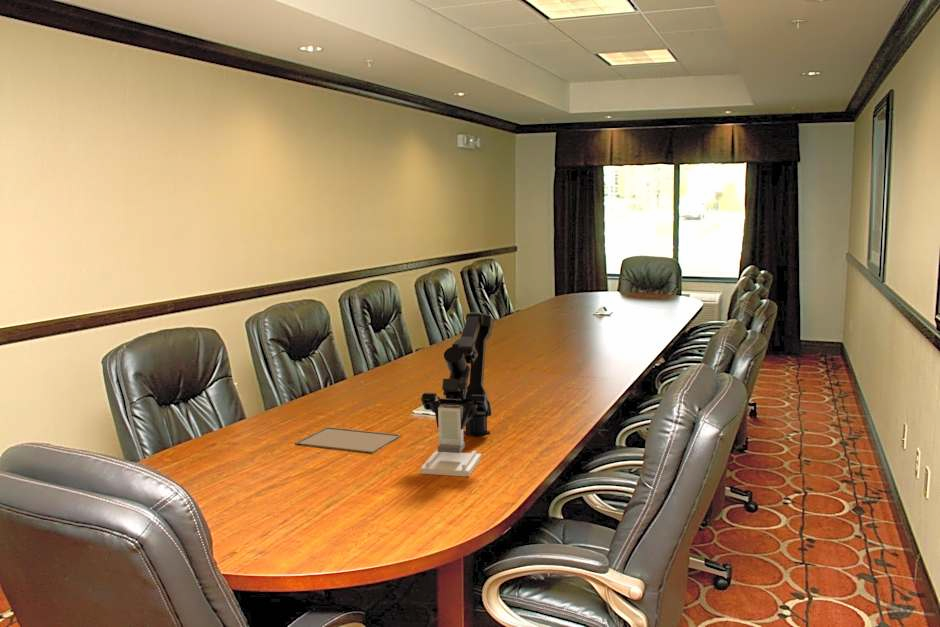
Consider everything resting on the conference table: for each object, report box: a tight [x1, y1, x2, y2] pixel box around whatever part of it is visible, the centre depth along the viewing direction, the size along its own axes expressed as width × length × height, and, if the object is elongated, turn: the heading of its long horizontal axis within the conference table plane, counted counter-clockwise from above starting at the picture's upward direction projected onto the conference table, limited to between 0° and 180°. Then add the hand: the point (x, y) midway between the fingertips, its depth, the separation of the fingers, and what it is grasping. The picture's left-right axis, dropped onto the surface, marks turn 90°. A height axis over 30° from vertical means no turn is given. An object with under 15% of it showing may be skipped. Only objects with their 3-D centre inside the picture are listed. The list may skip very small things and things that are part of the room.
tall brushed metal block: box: [437, 405, 466, 453], centre depth 238 cm, size 6×6×12 cm
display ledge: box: [419, 449, 482, 477], centre depth 240 cm, size 16×14×3 cm
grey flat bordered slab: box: [294, 426, 403, 454], centre depth 266 cm, size 19×1×28 cm
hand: (449, 428), depth 237 cm, fingers closed on tall brushed metal block, 6 cm apart
